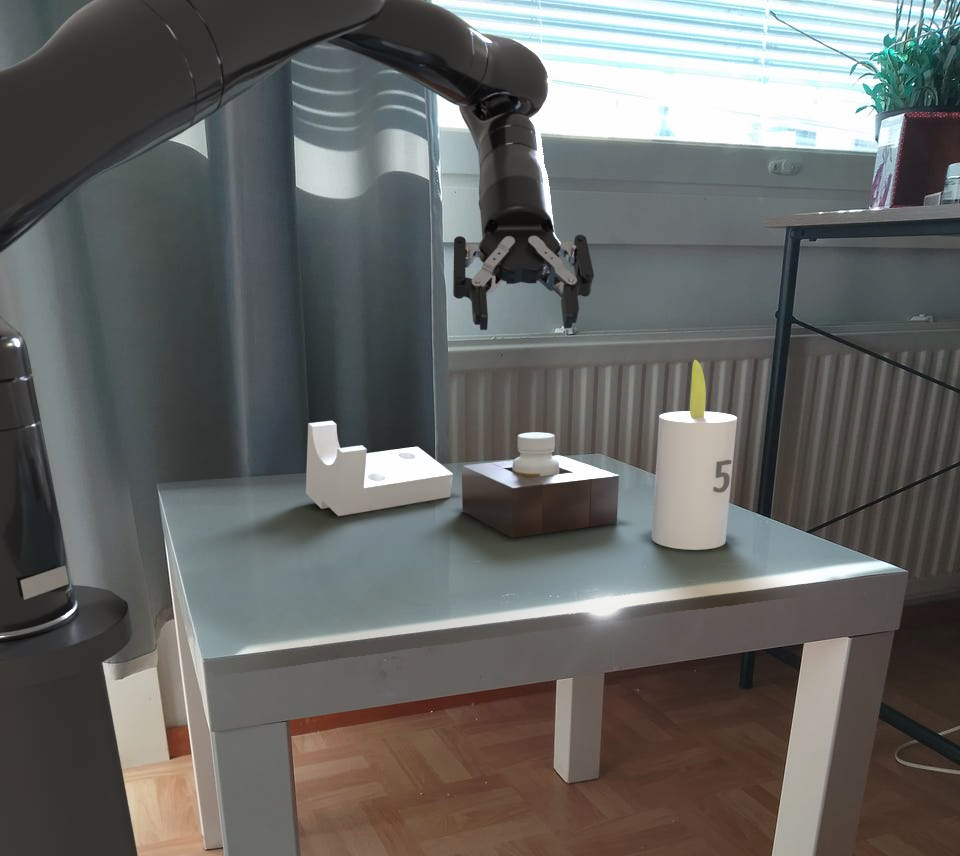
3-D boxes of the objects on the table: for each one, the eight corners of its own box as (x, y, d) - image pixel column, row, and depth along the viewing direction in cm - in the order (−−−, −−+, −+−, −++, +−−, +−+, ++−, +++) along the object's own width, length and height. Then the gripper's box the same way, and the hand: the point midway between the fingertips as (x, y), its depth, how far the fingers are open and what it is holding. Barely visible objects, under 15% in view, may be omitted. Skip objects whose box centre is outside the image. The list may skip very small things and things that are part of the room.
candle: (690, 554, 77) (705, 366, 71) (636, 537, 82) (646, 359, 76) (743, 542, 80) (761, 360, 74) (688, 526, 85) (701, 355, 79)
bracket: (337, 524, 90) (342, 452, 86) (305, 493, 95) (308, 423, 90) (449, 505, 97) (458, 437, 93) (414, 476, 102) (421, 410, 97)
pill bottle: (502, 516, 89) (502, 435, 86) (536, 508, 91) (537, 429, 89) (534, 525, 86) (535, 441, 83) (567, 517, 88) (569, 435, 85)
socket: (512, 538, 82) (512, 487, 80) (462, 511, 91) (461, 465, 89) (617, 523, 86) (619, 475, 84) (559, 499, 95) (560, 455, 94)
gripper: (448, 173, 95) (456, 297, 89) (586, 172, 96) (603, 295, 90) (448, 231, 102) (455, 350, 96) (576, 230, 103) (591, 347, 97)
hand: (526, 323), depth 93 cm, fingers open, 8 cm apart
